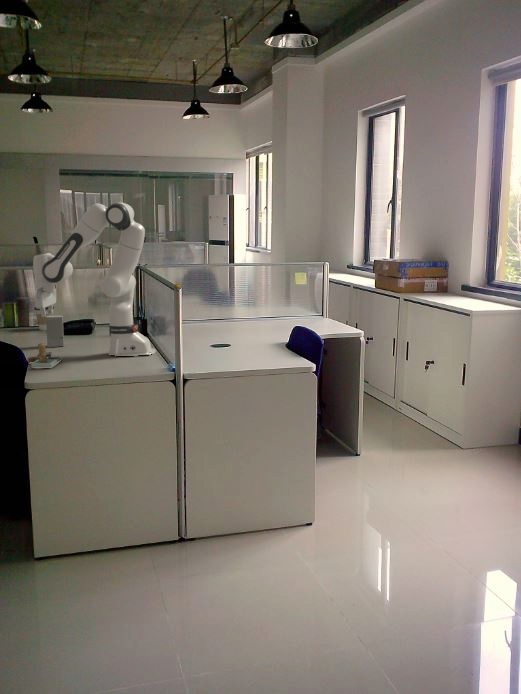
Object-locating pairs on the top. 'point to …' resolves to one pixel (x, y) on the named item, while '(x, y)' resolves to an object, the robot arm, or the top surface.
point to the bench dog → (33, 359)
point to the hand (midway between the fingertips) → (47, 315)
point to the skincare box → (54, 331)
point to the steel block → (47, 354)
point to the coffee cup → (42, 318)
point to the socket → (54, 358)
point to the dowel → (42, 353)
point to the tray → (48, 364)
